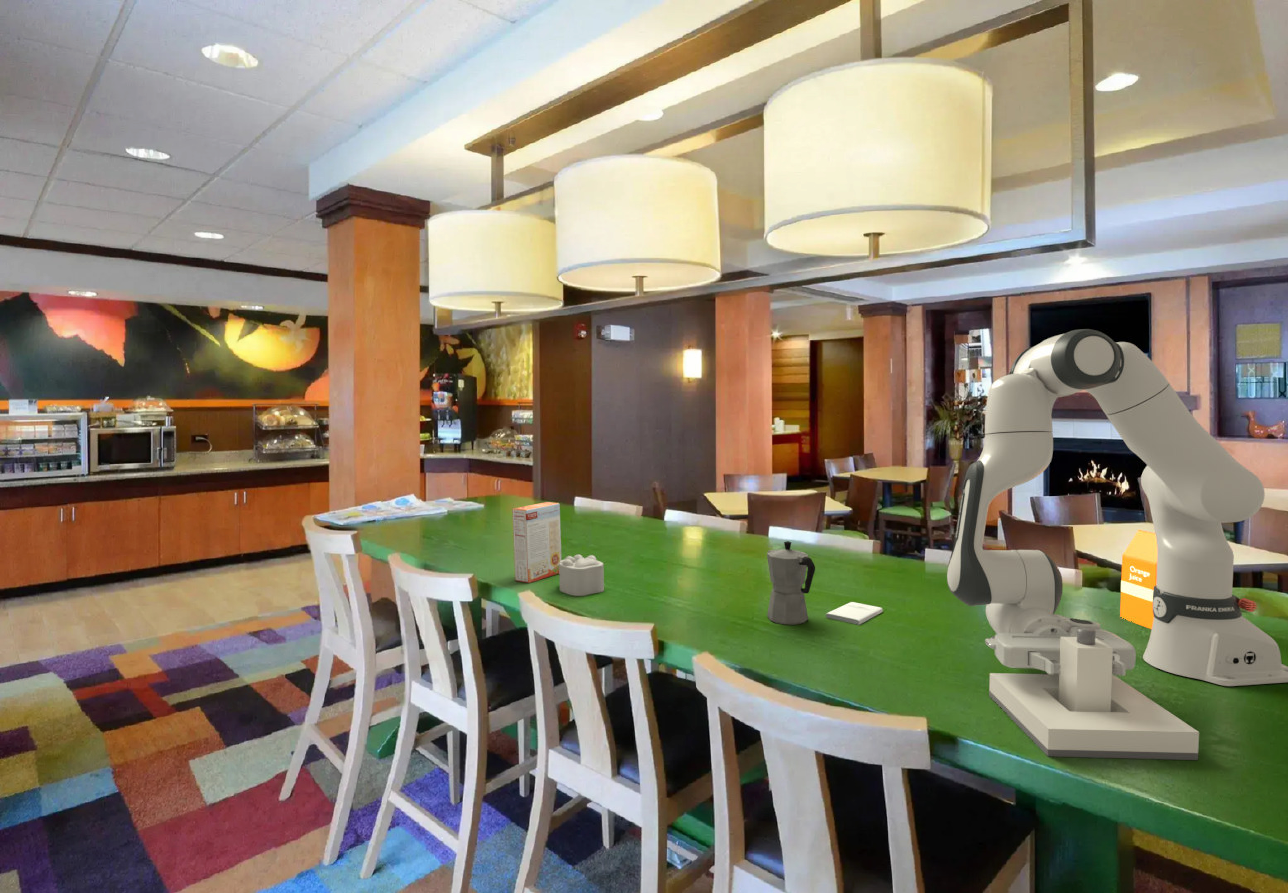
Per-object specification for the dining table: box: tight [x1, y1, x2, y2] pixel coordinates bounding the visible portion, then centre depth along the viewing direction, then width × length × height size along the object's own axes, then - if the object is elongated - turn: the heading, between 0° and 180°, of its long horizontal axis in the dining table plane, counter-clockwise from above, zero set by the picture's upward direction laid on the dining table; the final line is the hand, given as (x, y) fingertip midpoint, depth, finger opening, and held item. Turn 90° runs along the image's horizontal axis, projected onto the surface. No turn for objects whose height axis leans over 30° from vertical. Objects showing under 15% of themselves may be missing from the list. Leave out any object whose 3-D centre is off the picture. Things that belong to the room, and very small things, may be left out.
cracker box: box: [511, 501, 563, 584], centre depth 202 cm, size 14×6×21 cm, turn 144°
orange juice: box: [1119, 529, 1157, 630], centre depth 155 cm, size 8×9×20 cm
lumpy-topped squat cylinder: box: [558, 554, 605, 597], centre depth 190 cm, size 10×13×9 cm
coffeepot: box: [766, 540, 816, 626], centre depth 160 cm, size 15×9×18 cm, turn 28°
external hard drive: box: [825, 601, 884, 626], centre depth 164 cm, size 2×8×12 cm
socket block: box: [988, 672, 1200, 761], centre depth 108 cm, size 20×20×4 cm
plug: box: [1059, 627, 1113, 712], centre depth 108 cm, size 5×5×14 cm
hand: (1088, 670), depth 107 cm, fingers open, 8 cm apart
